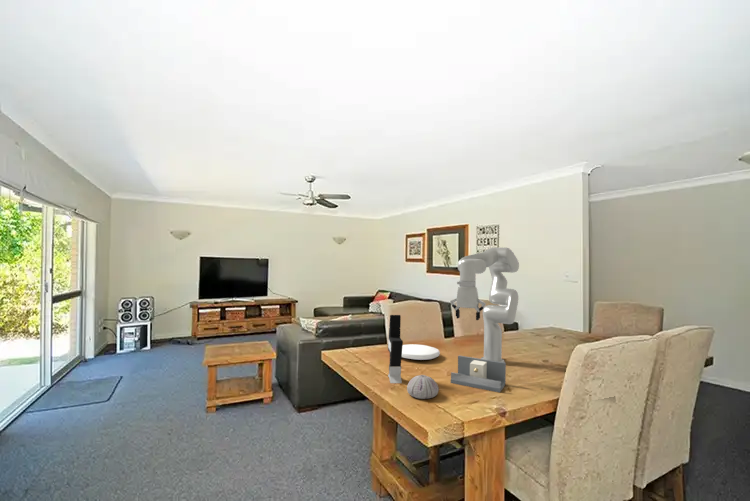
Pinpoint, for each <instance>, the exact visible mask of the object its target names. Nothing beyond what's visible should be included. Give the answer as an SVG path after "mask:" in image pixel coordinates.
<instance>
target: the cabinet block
mask: <svg viewBox="0 0 750 501" xmlns="http://www.w3.org/2000/svg"><path fill="white" fill-rule="evenodd" d="M470 376H475V377H481V378H486V379H487V362H484V361H478V360H473V361H472V362H471V363H470Z"/></svg>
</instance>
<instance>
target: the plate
mask: <svg viewBox="0 0 750 501" xmlns="http://www.w3.org/2000/svg"><path fill="white" fill-rule="evenodd" d="M440 352H441V351H440V349H438V348H436V347H433V346H430V345H426V344H415V343H414V344H412V343H411V344H403V346H402V358H404V359H409V360H410V359H411V360H416V361H419V360H420V361H422V360H423V361H424V360H425V361H426V360H432V359H437V357H439V356H440V354H441V353H440Z"/></svg>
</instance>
